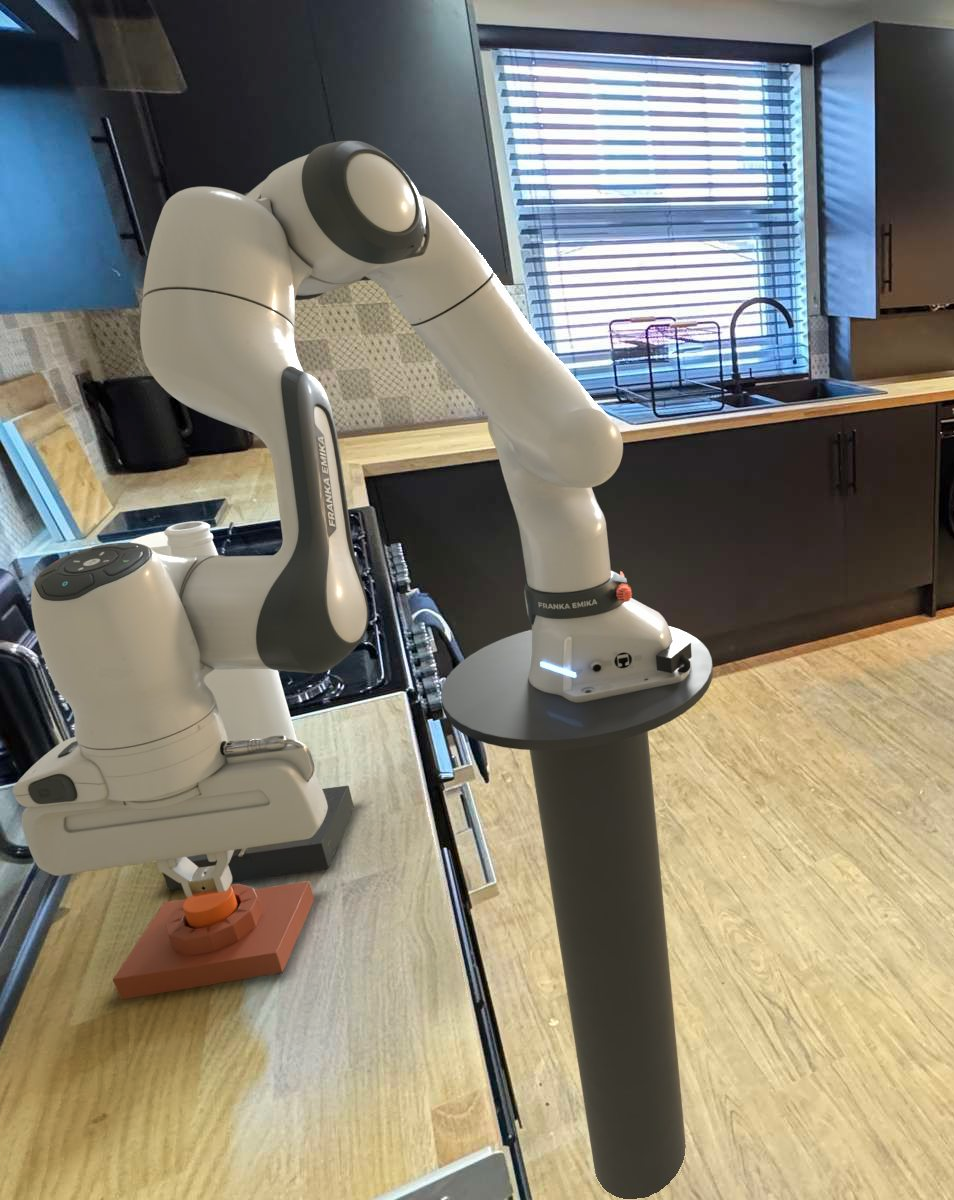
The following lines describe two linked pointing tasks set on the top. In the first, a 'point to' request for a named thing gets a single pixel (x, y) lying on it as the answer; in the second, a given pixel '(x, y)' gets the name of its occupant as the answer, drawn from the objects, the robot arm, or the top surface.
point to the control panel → (289, 847)
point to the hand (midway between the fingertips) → (210, 889)
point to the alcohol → (240, 694)
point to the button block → (217, 942)
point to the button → (209, 908)
